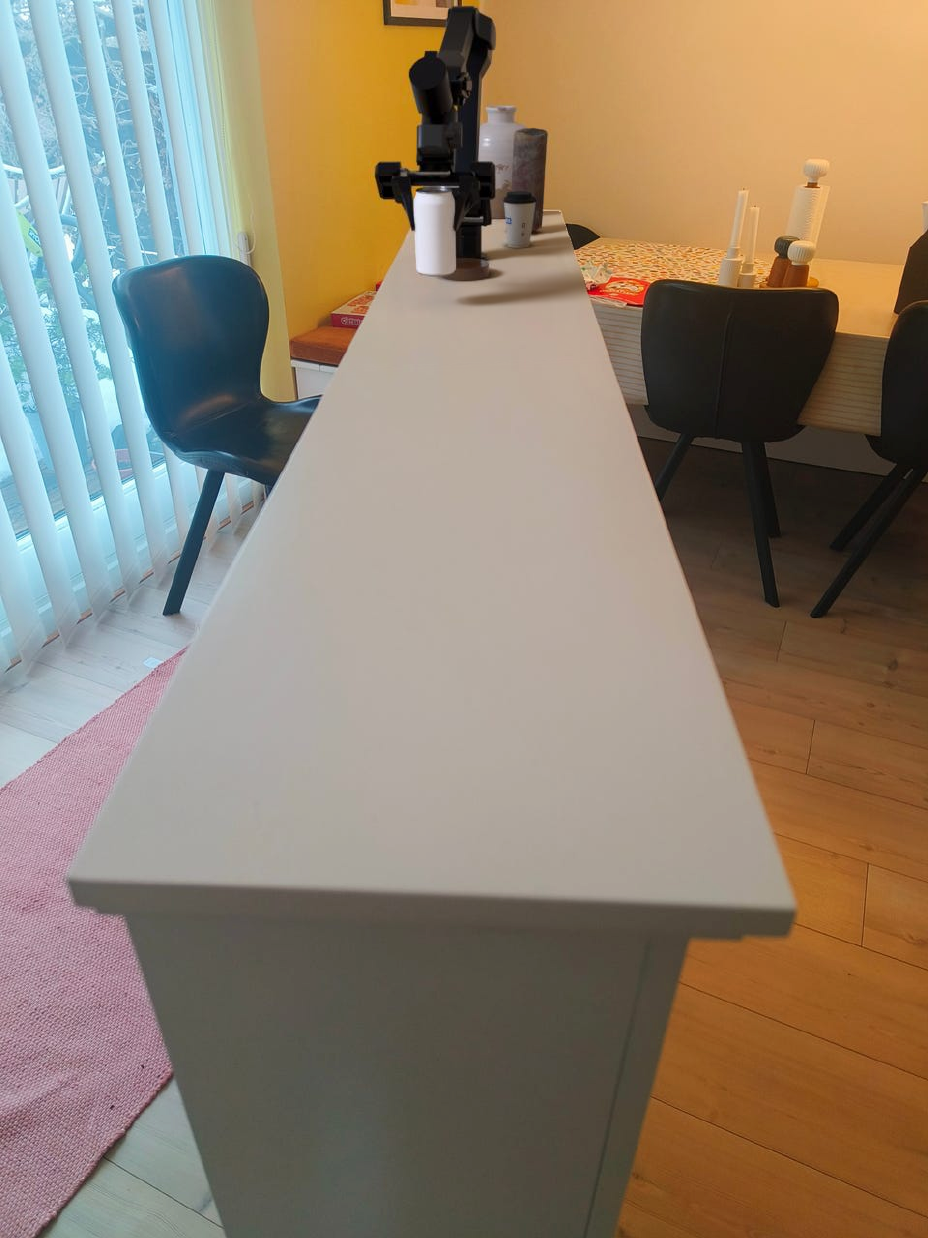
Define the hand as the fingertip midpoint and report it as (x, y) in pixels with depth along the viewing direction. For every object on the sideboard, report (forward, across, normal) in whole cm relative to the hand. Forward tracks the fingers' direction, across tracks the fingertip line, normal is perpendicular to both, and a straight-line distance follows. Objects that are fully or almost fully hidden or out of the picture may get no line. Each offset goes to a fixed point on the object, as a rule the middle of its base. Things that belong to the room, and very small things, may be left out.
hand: (433, 229), depth 128 cm
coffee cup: (-25, +13, +43) cm, 51 cm away
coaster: (-7, +3, +24) cm, 25 cm away
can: (+4, 0, +6) cm, 7 cm away
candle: (-35, +14, +53) cm, 66 cm away
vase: (-50, +8, +68) cm, 85 cm away
